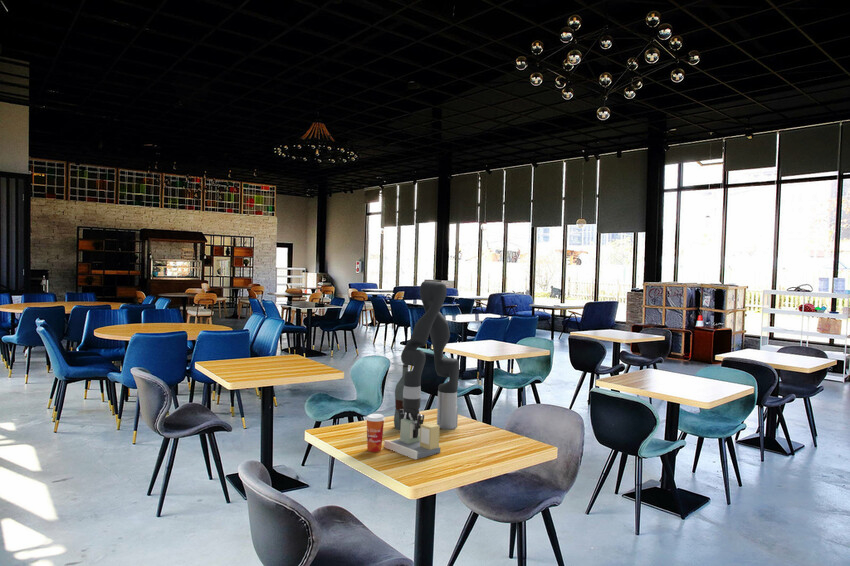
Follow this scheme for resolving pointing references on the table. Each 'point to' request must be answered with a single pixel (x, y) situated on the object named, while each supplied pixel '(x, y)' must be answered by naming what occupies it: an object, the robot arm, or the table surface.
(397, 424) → the bottle
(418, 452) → the display board
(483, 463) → the table surface
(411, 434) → the tea box
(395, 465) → the table surface
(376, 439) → the paper cup
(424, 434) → the mustard box
